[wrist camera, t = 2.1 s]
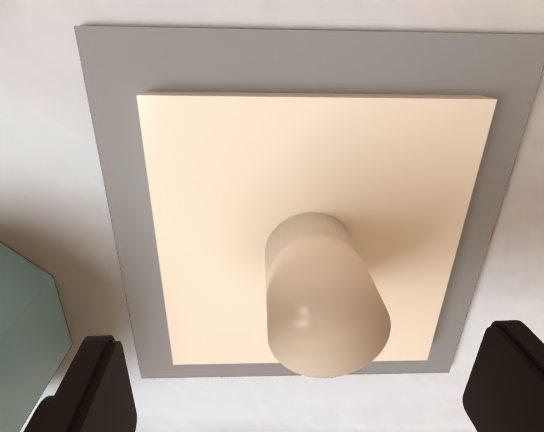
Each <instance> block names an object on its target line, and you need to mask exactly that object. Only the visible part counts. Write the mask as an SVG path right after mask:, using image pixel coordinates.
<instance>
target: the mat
mask: <svg viewBox="0 0 544 432" xmlns="http://www.w3.org/2000/svg"><path fill="white" fill-rule="evenodd" d="M74 29H75V34H76V40H77V45H78V50H79V55H80V60H81V66H82V71H83V76H84V81H85V87H86V92H87V97H88V102H89V107H90V113H91V118H92V123H93V128H94V133H95V139H96V144H97V149H98V154H99V159H100V165H101V170H102V175H103V180H104V186H105V191H106V196H107V201H108V206H109V212H110V217H111V222H112V227H113V232H114V238H115V243H116V248H117V253H118V259H119V264H120V269H121V274H122V279H123V285H124V290H125V295H126V300H127V305H128V311H129V316H130V321H131V326H132V331H133V337H134V342H135V347H136V352H137V358H138V363H139V368H140V373H141V378H187V377H241V376H294V375H301V374H298V373H295V372H293V371H291V370H289V369H288V368H286V367H284V366H283V365H282V364H281V363H243V364H184V365H173V360H172V352H171V345H170V338H169V330H168V323H167V316H166V308H165V301H164V294H163V286H162V279H161V272H160V264H159V257H158V250H157V243H156V235H155V228H154V221H153V213H152V206H151V199H150V191H149V184H148V177H147V169H146V162H145V155H144V148H143V140H142V133H141V126H140V118H139V111H138V104H137V96H136V95H138V94H140V93H142V92H144V91H162V92H248V93H333V94H419V95H482V96H486V97H490V98H494V99H497V102H496V106H495V110H494V114H493V117H492V121H491V125H490V128H489V132H488V136H487V140H486V143H485V147H484V151H483V155H482V158H481V162H480V166H479V169H478V173H477V177H476V181H475V184H474V188H473V192H472V195H471V199H470V203H469V207H468V210H467V214H466V218H465V221H464V225H463V229H462V233H461V236H460V240H459V244H458V247H457V251H456V255H455V259H454V262H453V266H452V270H451V274H450V277H449V281H448V285H447V288H446V292H445V296H444V300H443V303H442V307H441V311H440V314H439V318H438V322H437V326H436V329H435V333H434V337H433V340H432V344H431V348H430V352H429V355H428V359H427V360H417V361H372V362H370V363H369V364H368V365H366V366H364V367H363V368H361V369H359V370H357V371H355V372H352V373H349V374H402V373H449V371H450V368H451V365H452V362H453V359H454V355H455V352H456V349H457V346H458V342H459V339H460V336H461V333H462V329H463V326H464V323H465V320H466V317H467V313H468V310H469V307H470V304H471V300H472V297H473V294H474V291H475V288H476V284H477V281H478V278H479V275H480V271H481V268H482V265H483V262H484V259H485V255H486V252H487V249H488V246H489V242H490V239H491V236H492V233H493V229H494V226H495V223H496V220H497V217H498V213H499V210H500V207H501V204H502V200H503V197H504V194H505V191H506V188H507V184H508V181H509V178H510V175H511V171H512V168H513V165H514V162H515V159H516V155H517V152H518V149H519V146H520V142H521V139H522V136H523V133H524V129H525V126H526V123H527V120H528V117H529V113H530V110H531V107H532V104H533V100H534V97H535V94H536V91H537V88H538V84H539V81H540V78H541V75H542V71H543V68H544V34H494V33H440V32H386V31H332V30H278V29H224V28H170V27H116V26H74ZM346 375H348V374H346Z"/></svg>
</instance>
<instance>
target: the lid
mask: <svg viewBox="0 0 544 432" xmlns="http://www.w3.org/2000/svg"><path fill="white" fill-rule="evenodd" d="M136 96H137V104H138V111H139V118H140V126H141V133H142V140H143V148H144V155H145V162H146V169H147V177H148V184H149V191H150V199H151V206H152V213H153V221H154V228H155V235H156V243H157V250H158V257H159V264H160V272H161V279H162V286H163V294H164V301H165V308H166V316H167V323H168V330H169V338H170V345H171V352H172V360H173V365H184V364H243V363H281V364H282V365H283V366H284V367H286V368H288V369H289V370H291V371H293V372H295V373H298V374H301V375H304V376H308V377H315V378H332V377H338V376H343V375H346V374H349V373H352V372H355V371H357V370H359V369H361V368H363V367H364V366H366V365H368V364H369V363H370V362H372V361H417V360H427V359H428V355H429V352H430V348H431V344H432V340H433V337H434V333H435V329H436V326H437V322H438V318H439V314H440V311H441V307H442V303H443V300H444V296H445V292H446V288H447V285H448V281H449V277H450V274H451V270H452V266H453V262H454V259H455V255H456V251H457V247H458V244H459V240H460V236H461V233H462V229H463V225H464V221H465V218H466V214H467V210H468V207H469V203H470V199H471V195H472V192H473V188H474V184H475V181H476V177H477V173H478V169H479V166H480V162H481V158H482V155H483V151H484V147H485V143H486V140H487V136H488V132H489V128H490V125H491V121H492V117H493V114H494V110H495V106H496V102H497V99H494V98H490V97H486V96H482V95H419V94H333V93H248V92H162V91H144V92H142V93H140V94H138V95H136Z"/></svg>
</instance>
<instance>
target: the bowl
mask: <svg viewBox="0 0 544 432" xmlns="http://www.w3.org/2000/svg"><path fill="white" fill-rule="evenodd" d="M71 346H72V341H71V337H70V334H69V330H68V327H67V323H66V320H65V316H64V313H63V310H62V306H61V303H60V299H59V296H58V292H57V289H56V285H55V282H54V278H53V276H51V275H50V274H48V273H46V272H45V271H43V270H42V269H40V268H39V267H37V266H36V265H34V264H33V263H31V262H30V261H28V260H27V259H25V258H23V257H22V256H20V255H19V254H17V253H16V252H14V251H13V250H11V249H10V248H8V247H7V246H5V245H4V244H2V243H0V432H20V430H21V428H22V427H23V425H24V423H25V422H26V420H27V418H28V417H29V415H30V414H31V412H32V410H33V409H34V407H35V405H36V404H37V402H38V400H39V399H40V397H41V395H42V394H43V392H44V390H45V389H46V387H47V385H48V384H49V382H50V380H51V379H52V377H53V375H54V374H55V372H56V370H57V369H58V367H59V365H60V364H61V362H62V360H63V359H64V357H65V355H66V354H67V352H68V350H69V349H70V347H71Z"/></svg>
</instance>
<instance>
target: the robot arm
mask: <svg viewBox="0 0 544 432" xmlns="http://www.w3.org/2000/svg"><path fill="white" fill-rule="evenodd" d="M463 406H464V409H465V411H466V413H467V415H468V416H469V418H470V420H471V421H472V423H473V425H474V426H475V428H476V430H477V431H478V432H544V344H543V343H542V341H541V340H540V339H539V338H538V337H537V336H536V335H535V334H534V333H533V332H532V331H531V330H530V329H529V328H528V327H527V326H526V325H525V324H524V323H522V322H521V321H518V320H508V321H494V322H493V323H492V324H491V326H490V327H488V328H487V329H486V331H485V334H484V337H483V340H482V342H481V345H480V348H479V351H478V354H477V357H476V360H475V363H474V365H473V368H472V371H471V374H470V377H469V380H468V383H467V386H466V389H465V391H464V394H463ZM136 423H137V413H136V408H135V403H134V399H133V394H132V389H131V385H130V380H129V375H128V371H127V366H126V361H125V356H124V352H123V347H122V343H121V342H120V341H115V340H114V337H113V336H112V335H107V336H87V337H86V338H85V339H84V340H83V342H82V344H81V346H80V348H79V350H78V352H77V353H76V355H75V357H74V359H73V361H72V363H71V365H70V367H69V369H68V371H67V372H66V374H65V376H64V378H63V380H62V382H61V384H60V386H59V388H58V390H57V391H56V393H55V395H54V396H48V397H46V398H44V399H43V400H42V401H41V403H40V404H39V405H38V407H37V408H36V410H35V412H34V414H33V416H32V417H31V419H30V421H29V423H28V425H27V426H26V428H25V430H24V432H135V429H136Z"/></svg>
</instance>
